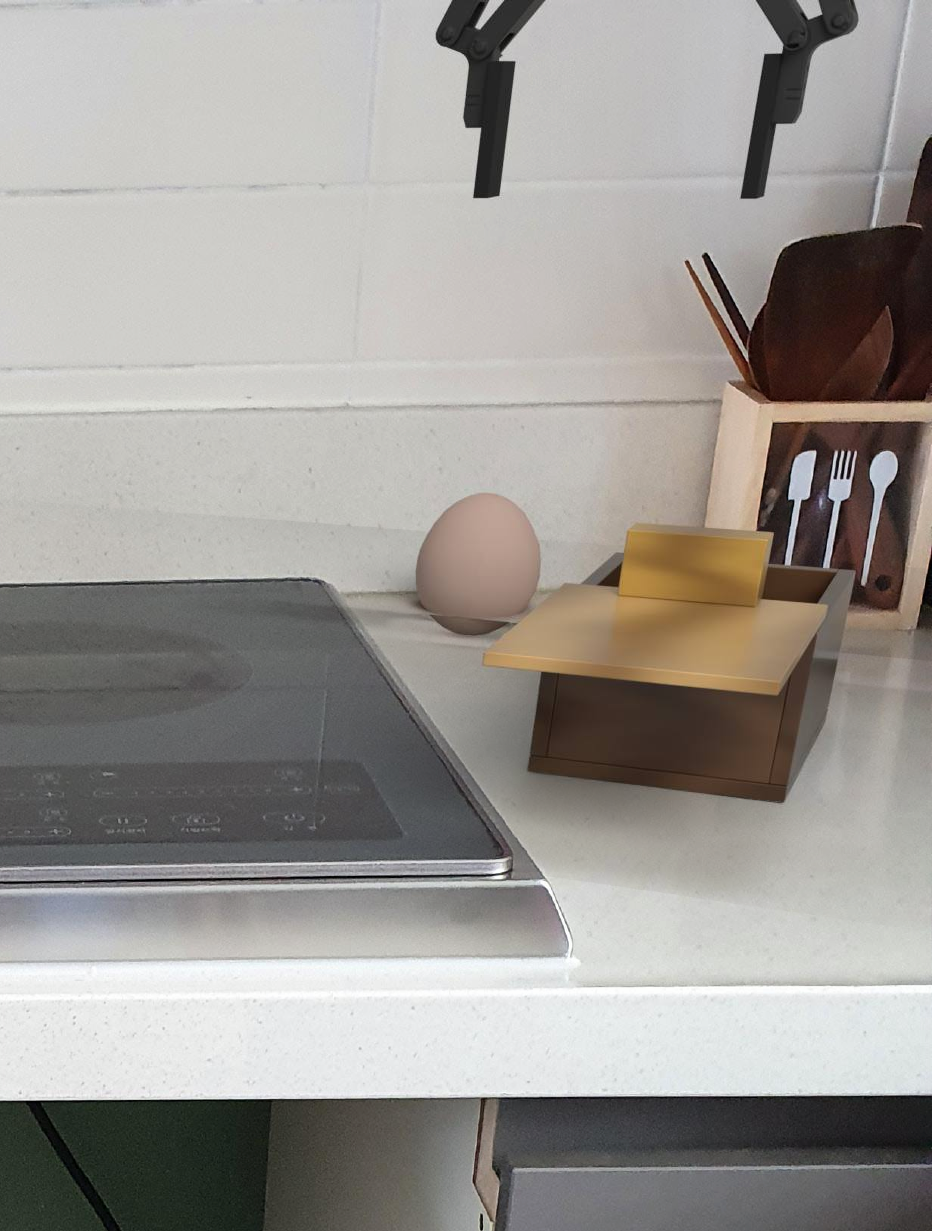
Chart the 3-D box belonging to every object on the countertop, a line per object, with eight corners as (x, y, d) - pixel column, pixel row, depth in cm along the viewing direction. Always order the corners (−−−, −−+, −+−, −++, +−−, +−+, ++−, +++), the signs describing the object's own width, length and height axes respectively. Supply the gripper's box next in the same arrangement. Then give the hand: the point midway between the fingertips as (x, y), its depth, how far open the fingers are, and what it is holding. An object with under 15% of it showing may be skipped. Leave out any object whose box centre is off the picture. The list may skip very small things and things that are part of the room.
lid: (825, 617, 95) (841, 536, 94) (777, 696, 83) (795, 605, 82) (562, 595, 101) (573, 518, 99) (481, 665, 89) (492, 579, 87)
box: (825, 722, 109) (856, 570, 105) (784, 803, 97) (817, 634, 93) (593, 697, 114) (615, 551, 111) (526, 771, 102) (549, 610, 99)
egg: (537, 626, 130) (556, 486, 126) (523, 651, 124) (543, 506, 120) (418, 617, 132) (434, 480, 129) (399, 642, 126) (415, 500, 123)
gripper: (981, -310, 97) (883, 194, 107) (445, -258, 109) (399, 193, 118) (970, -334, 92) (867, 201, 101) (405, -276, 103) (361, 200, 112)
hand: (615, 198), depth 110 cm, fingers open, 13 cm apart
